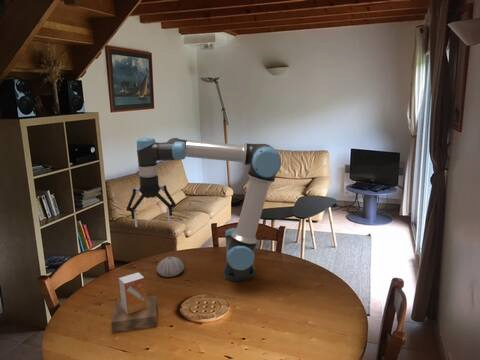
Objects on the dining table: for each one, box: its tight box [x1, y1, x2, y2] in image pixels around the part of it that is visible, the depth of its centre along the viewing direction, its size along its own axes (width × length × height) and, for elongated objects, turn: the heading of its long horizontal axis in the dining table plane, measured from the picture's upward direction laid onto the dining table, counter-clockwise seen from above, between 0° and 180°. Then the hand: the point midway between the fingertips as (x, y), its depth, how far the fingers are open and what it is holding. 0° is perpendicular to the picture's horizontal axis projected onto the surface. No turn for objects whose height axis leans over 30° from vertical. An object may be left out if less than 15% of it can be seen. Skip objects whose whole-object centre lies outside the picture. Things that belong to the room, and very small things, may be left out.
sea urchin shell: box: [156, 256, 185, 278], centre depth 198 cm, size 13×14×8 cm
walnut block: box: [111, 295, 158, 334], centre depth 158 cm, size 16×16×5 cm
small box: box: [118, 271, 147, 315], centre depth 156 cm, size 8×6×13 cm
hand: (152, 224), depth 172 cm, fingers open, 13 cm apart
